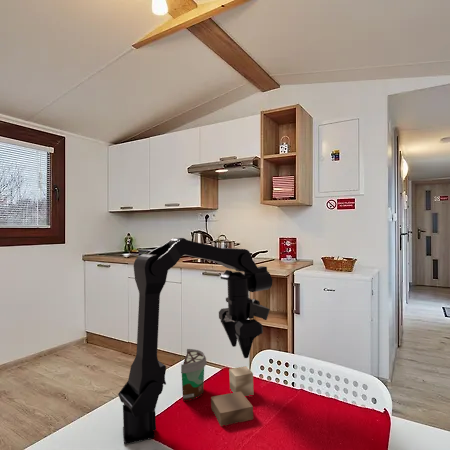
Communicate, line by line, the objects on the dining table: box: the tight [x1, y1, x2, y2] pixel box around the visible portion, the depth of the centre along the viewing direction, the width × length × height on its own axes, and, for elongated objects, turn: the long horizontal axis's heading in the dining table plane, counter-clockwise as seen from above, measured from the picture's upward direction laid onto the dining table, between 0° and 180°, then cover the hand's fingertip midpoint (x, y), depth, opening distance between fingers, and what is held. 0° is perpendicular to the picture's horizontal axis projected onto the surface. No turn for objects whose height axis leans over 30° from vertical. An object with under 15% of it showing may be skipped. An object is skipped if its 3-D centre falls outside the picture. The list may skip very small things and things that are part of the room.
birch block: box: [228, 366, 255, 397], centre depth 95 cm, size 5×5×6 cm
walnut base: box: [210, 391, 254, 427], centre depth 84 cm, size 8×8×3 cm
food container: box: [180, 348, 208, 402], centre depth 96 cm, size 12×6×10 cm, turn 179°
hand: (239, 351), depth 95 cm, fingers open, 9 cm apart
